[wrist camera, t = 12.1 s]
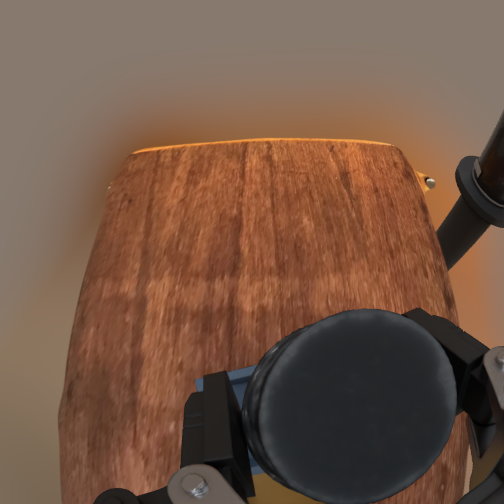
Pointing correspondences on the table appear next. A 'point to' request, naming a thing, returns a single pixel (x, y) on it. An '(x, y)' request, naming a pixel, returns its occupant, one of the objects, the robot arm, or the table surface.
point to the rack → (266, 489)
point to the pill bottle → (350, 407)
